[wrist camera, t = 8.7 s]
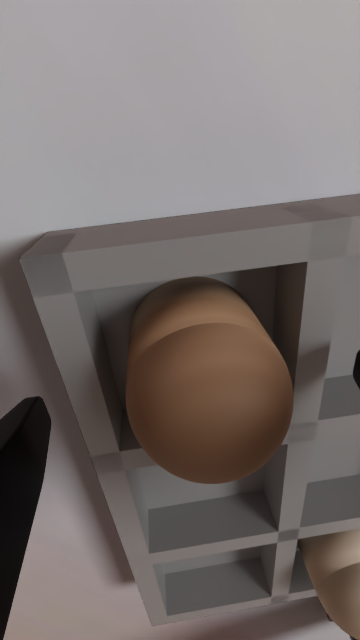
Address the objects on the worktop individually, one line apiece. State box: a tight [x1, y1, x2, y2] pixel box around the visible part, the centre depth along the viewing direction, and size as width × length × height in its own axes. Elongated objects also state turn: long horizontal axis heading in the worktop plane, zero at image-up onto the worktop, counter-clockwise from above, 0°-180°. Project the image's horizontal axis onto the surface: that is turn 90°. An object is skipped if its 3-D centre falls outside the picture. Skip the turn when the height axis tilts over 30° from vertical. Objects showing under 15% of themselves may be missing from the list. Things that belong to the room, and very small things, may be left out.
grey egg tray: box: [19, 194, 360, 626], centre depth 14 cm, size 22×15×3 cm
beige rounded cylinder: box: [297, 528, 360, 640], centre depth 16 cm, size 4×4×5 cm
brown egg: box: [126, 276, 294, 484], centre depth 9 cm, size 4×4×5 cm
